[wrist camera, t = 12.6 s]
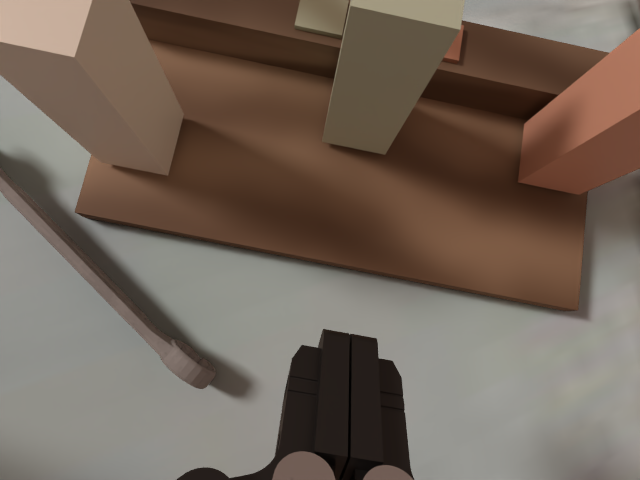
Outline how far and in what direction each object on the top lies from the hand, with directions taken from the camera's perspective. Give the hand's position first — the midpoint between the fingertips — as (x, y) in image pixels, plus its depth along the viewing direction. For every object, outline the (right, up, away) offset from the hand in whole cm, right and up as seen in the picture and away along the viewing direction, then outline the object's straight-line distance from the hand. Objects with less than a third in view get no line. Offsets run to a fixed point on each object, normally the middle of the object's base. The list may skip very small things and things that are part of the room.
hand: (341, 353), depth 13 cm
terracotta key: (+12, +8, +13) cm, 19 cm away
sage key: (+2, +10, +13) cm, 16 cm away
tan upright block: (-10, +9, +11) cm, 17 cm away
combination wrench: (-13, +3, +12) cm, 18 cm away
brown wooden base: (+1, +8, +14) cm, 16 cm away
